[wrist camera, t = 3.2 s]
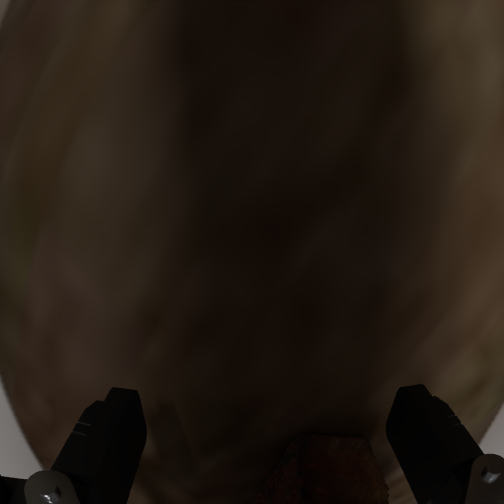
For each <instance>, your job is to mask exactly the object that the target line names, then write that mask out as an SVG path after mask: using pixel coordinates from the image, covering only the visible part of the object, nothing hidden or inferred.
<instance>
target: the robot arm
mask: <svg viewBox="0 0 504 504" xmlns="http://www.w3.org/2000/svg"><path fill="white" fill-rule="evenodd" d="M386 434H387V438H388V440H389V442H390V445H391V447H392V449H393V451H394V453H395V455H396V457H397V459H398V461H399V464H400V466H401V468H402V470H403V472H404V474H405V476H406V479H407V481H408V483H409V485H410V487H411V490H412V492H413V494H414V496H415V498H416V501H417V503H418V504H504V458H503V457H501V456H499V455H496V454H484V453H483V452H482V450H481V449H480V447H479V446H478V445H477V443H476V442H475V440H474V439H473V438H472V436H471V435H470V434H469V432H468V431H467V430H466V428H465V427H464V425H463V424H462V425H461V421H460V420H459V419H458V417H457V416H455V413H454V412H453V411H452V409H451V408H450V407H449V405H448V404H447V403H445V402H444V401H442V400H441V399H439V398H438V397H436V396H433V397H432V395H431V394H430V392H429V391H428V390H427V388H426V387H425V386H424V385H423V384H417V385H411V386H405V387H400V388H399V389H398V391H397V393H396V396H395V399H394V402H393V405H392V408H391V411H390V414H389V416H388V419H387V423H386ZM146 438H147V426H146V422H145V418H144V414H143V409H142V405H141V401H140V397H139V393H138V391H137V390H131V389H124V388H117V387H113V388H112V389H111V390H110V391H109V393H108V395H107V397H106V399H105V401H98V400H97V401H95V402H94V403H93V404H91V405H90V406H89V407H87V408H86V409H85V410H84V412H83V414H82V415H81V417H80V419H79V420H78V423H77V424H76V425H75V427H74V429H73V433H71V434H70V436H69V438H68V439H67V441H66V443H65V445H64V446H63V448H62V450H61V452H60V454H59V455H58V457H57V459H56V461H55V463H54V464H53V466H52V468H51V469H50V470H42V471H39V472H36V473H34V474H33V475H31V476H30V477H29V478H28V479H18V478H11V477H4V476H1V475H0V504H127V500H128V497H129V494H130V490H131V487H132V484H133V481H134V478H135V474H136V471H137V468H138V465H139V462H140V459H141V455H142V452H143V449H144V446H145V443H146Z"/></svg>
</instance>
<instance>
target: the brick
mask: <svg viewBox="0 0 504 504" xmlns="http://www.w3.org/2000/svg"><path fill="white" fill-rule="evenodd" d="M384 482H385V480H384V478H383V475H382V472H381V470H380V468H379V466H378V464H377V462H376V459H375V456H374V455H373V451H372V448H371V445H370V444H369V441H368V440H367V438H365V437H357V436H336V435H321V434H311V433H301V434H300V435H298V436H296V437H295V438H294V439H293V440H292V441H291V442H290V444H289V446H288V448H287V449H286V450H285V452H284V454H283V456H282V458H281V460H280V462H279V463H278V464H277V465H276V467H275V468H273V469H272V470H271V471H270V473H269V474H268V476H267V478H266V480H265V481H264V482H263V484H262V486H261V487H260V488H259V490H258V492H257V494H256V495H255V497H254V498H253V500H252V501H251V503H250V504H389V502H388V497H389V494H388V493H387V491H388V490H389V488H388V487H387V485H386V484H385V483H384Z"/></svg>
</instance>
